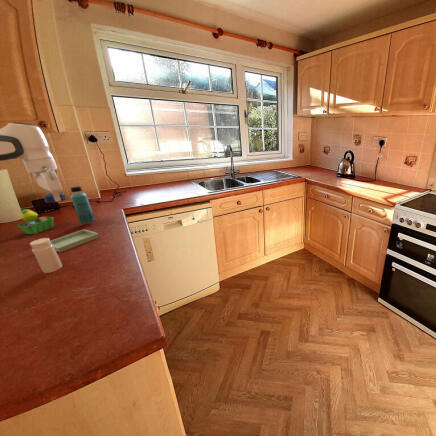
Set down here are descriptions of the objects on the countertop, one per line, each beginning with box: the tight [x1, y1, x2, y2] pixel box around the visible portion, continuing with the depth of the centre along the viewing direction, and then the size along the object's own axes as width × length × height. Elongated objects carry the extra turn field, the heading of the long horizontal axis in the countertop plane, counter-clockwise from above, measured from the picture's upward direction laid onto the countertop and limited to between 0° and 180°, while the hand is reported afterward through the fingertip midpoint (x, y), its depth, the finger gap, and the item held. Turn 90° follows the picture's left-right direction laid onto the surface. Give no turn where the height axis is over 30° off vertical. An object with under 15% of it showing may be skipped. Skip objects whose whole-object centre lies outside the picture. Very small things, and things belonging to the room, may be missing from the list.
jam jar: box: [29, 237, 63, 274], centre depth 87 cm, size 5×5×11 cm
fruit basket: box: [17, 208, 54, 235], centre depth 120 cm, size 11×9×11 cm
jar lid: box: [43, 192, 67, 204], centre depth 101 cm, size 6×6×3 cm
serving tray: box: [50, 228, 100, 253], centre depth 109 cm, size 15×12×2 cm
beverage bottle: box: [70, 185, 96, 224], centre depth 125 cm, size 6×7×20 cm
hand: (55, 199), depth 101 cm, fingers closed on jar lid, 6 cm apart
